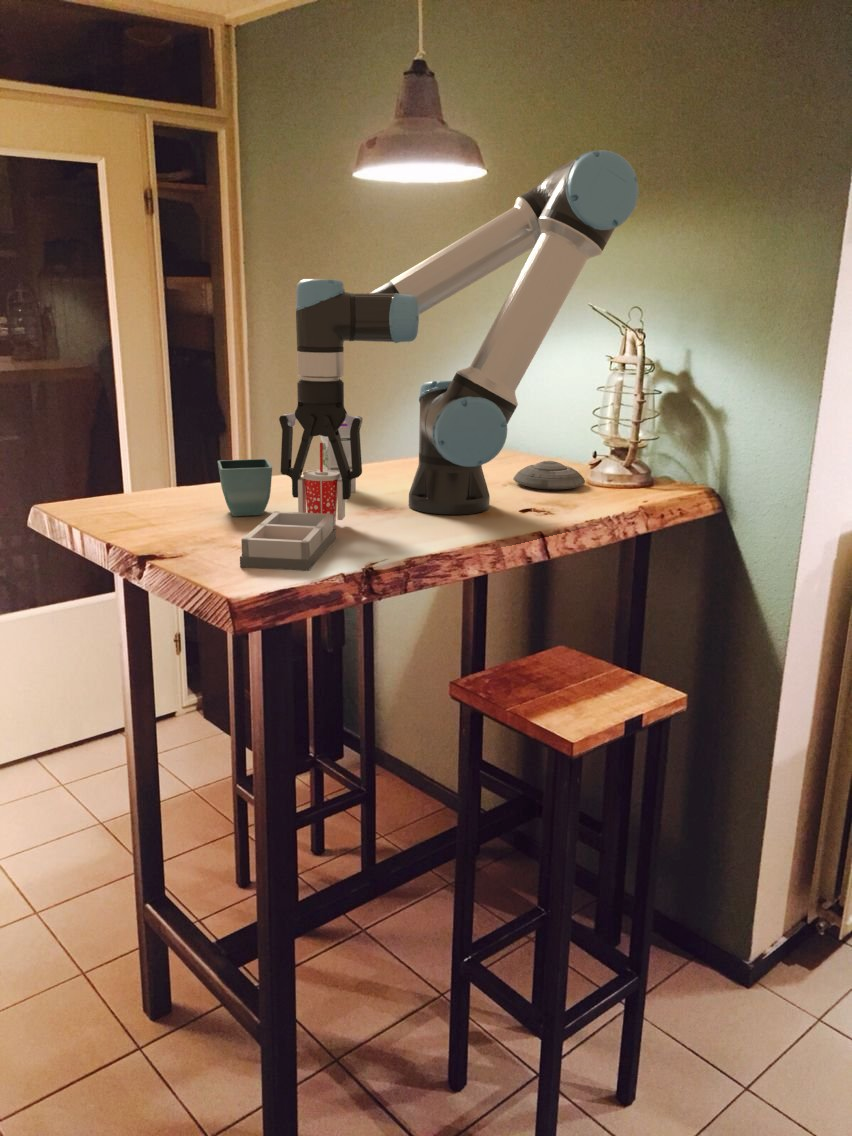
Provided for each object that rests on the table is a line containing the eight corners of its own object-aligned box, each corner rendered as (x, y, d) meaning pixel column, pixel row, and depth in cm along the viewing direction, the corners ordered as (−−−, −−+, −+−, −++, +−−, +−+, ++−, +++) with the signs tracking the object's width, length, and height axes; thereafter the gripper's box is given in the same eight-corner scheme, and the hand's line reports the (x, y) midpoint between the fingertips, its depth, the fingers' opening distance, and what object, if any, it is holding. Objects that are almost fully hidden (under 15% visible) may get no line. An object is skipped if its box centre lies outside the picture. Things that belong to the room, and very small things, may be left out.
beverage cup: (340, 521, 162) (340, 440, 158) (339, 529, 156) (338, 446, 152) (305, 520, 161) (304, 439, 157) (302, 529, 155) (301, 445, 152)
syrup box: (356, 492, 185) (356, 419, 181) (327, 494, 183) (327, 420, 179) (348, 487, 190) (348, 415, 186) (320, 489, 188) (319, 416, 184)
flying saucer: (594, 484, 200) (595, 459, 198) (570, 496, 187) (572, 469, 186) (528, 477, 207) (529, 452, 205) (501, 488, 194) (502, 462, 192)
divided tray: (335, 537, 150) (335, 513, 149) (308, 570, 132) (308, 543, 131) (275, 534, 151) (274, 510, 150) (240, 567, 133) (239, 539, 132)
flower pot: (222, 520, 161) (220, 468, 158) (219, 509, 169) (217, 459, 166) (273, 518, 163) (272, 467, 160) (268, 507, 171) (267, 458, 168)
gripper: (381, 378, 154) (380, 514, 161) (269, 374, 156) (272, 510, 163) (374, 382, 147) (373, 525, 154) (257, 378, 149) (261, 519, 155)
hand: (321, 517), depth 158 cm, fingers closed on beverage cup, 6 cm apart
